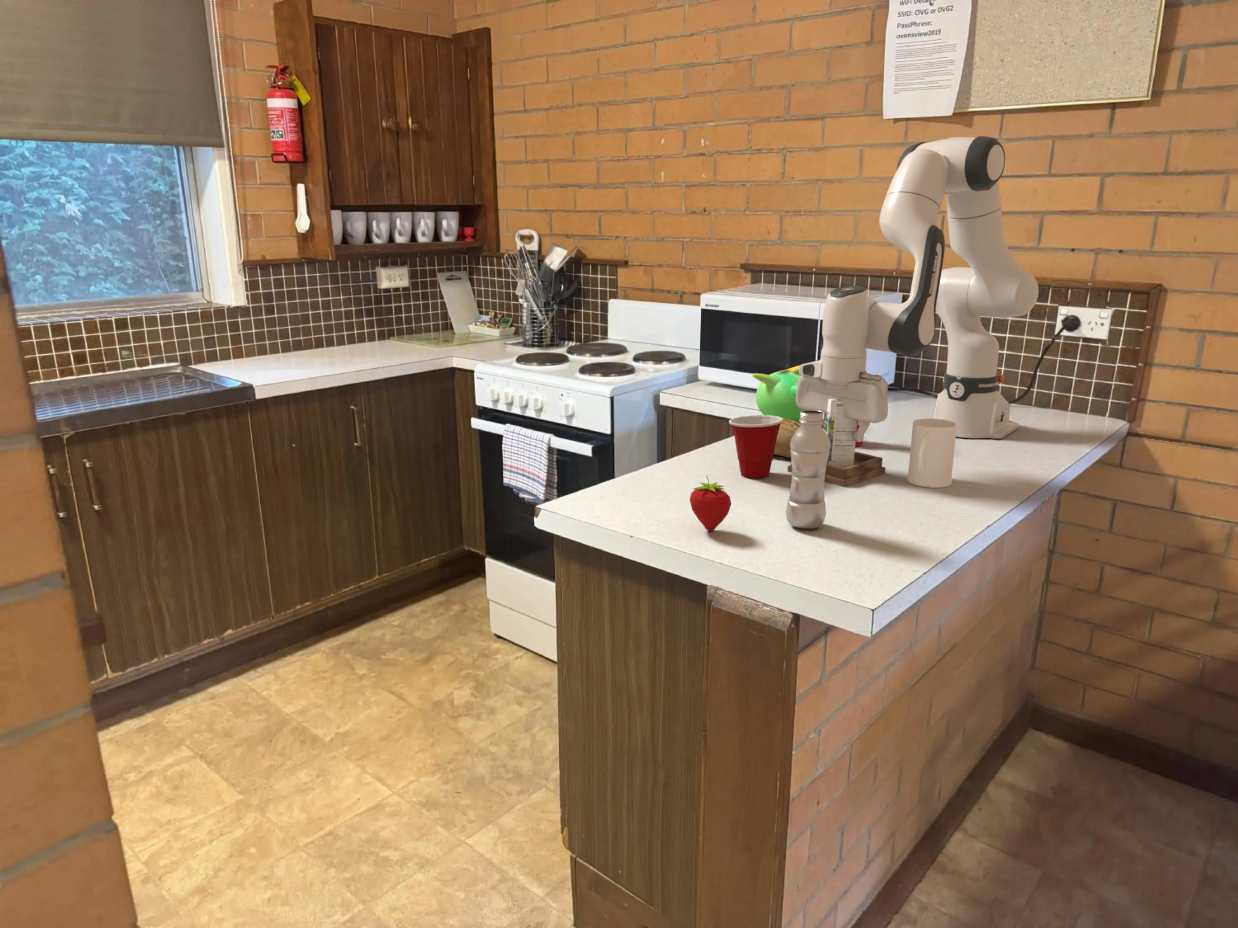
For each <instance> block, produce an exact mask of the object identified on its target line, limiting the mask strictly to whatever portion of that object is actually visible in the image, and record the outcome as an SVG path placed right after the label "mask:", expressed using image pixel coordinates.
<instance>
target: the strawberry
mask: <svg viewBox="0 0 1238 928" xmlns="http://www.w3.org/2000/svg"><path fill="white" fill-rule="evenodd" d="M706 479H707V483H706V482H699V484H701V485H702V486H697V487H694V488H693V491H692V492H690V495H689V497H690V498H689V502H690V506H691V511H692V512H693V513H694V515H695V517H696V518H697V519H698V520H697V521H699V522H700V523H701V524H702V526H703V527H704V529H705V530H706V531H708V532H714V531H715V530H716V529H717V528H718V527H719V525H720V524H722V522H723V521H724V520H725V518H727V516H728V515H729V513H730V508H731V507H732V501H731V497H730V495H729V494H728V493H727V492H726V491H725V489H724V488H723V487H724V486H725V485H720V484H718V481H716V482H713V483H710V480H709V478H708V475H706Z"/></svg>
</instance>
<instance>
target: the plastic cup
mask: <svg viewBox="0 0 1238 928" xmlns="http://www.w3.org/2000/svg"><path fill="white" fill-rule="evenodd" d="M782 420H783V418H781V417H778V416H771V415H763V414H756V415H745V416H737V417H733V418H730V419H729V420H728V424H730V426H731V429H732V432H733V436H734V442H735V448H736V454H737V459H738V464H739V472H740V475H741V477H743V476H744V477H743V478H747V479H751V478H755V480H758V479H759V480H760V479H765V478H768V477H769V475H770V473H771V468H772V462H773V460H774V455H775V454H774V450H775V445H776V440H777V435H778V431H779V428H780V424H781V423H782Z"/></svg>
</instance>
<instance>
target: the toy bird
mask: <svg viewBox="0 0 1238 928" xmlns="http://www.w3.org/2000/svg"><path fill="white" fill-rule="evenodd" d="M799 367H800V365H796V366H794V367H791V368H790V367H789V368H788V369H784V370H782V369H781V370H778V371H776V372H773V373H770V374H765V373H757V372H756V373H752V375H751V376H752V377H753V378H754V379H756V380H757V381H759V382H760V383H759V385H758V387H757V389H756V393H755V401H756V405H757V407H758V409H759V411H760V412H761V413H762V414H761V415H771V416H778V417H781V418H783V419H789V420H793V421H796V422H798V423H799V419H800V412H801V411H803V410H806V409H801V408H799V407H798V406H797V404H796V389H797V382H798V379H799V378H800V377H801V376H802V375H800V373H799ZM799 424H800V423H799Z"/></svg>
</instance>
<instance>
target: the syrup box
mask: <svg viewBox="0 0 1238 928" xmlns="http://www.w3.org/2000/svg"><path fill="white" fill-rule="evenodd" d="M823 429H824V431H825V432H826V434H827V435H828V437H829V439H830V444H831V445H830V450H829V456H828V460H827V464H829V465H833V466H837V467H841V468H845V467H848V466H851V465H854V454H855V452H856V447H855V441H853V440H852V438H853V432H856V429H857V420H855V419H850V418H846V417H843V400H837V399H828V406H827V413H823Z"/></svg>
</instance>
